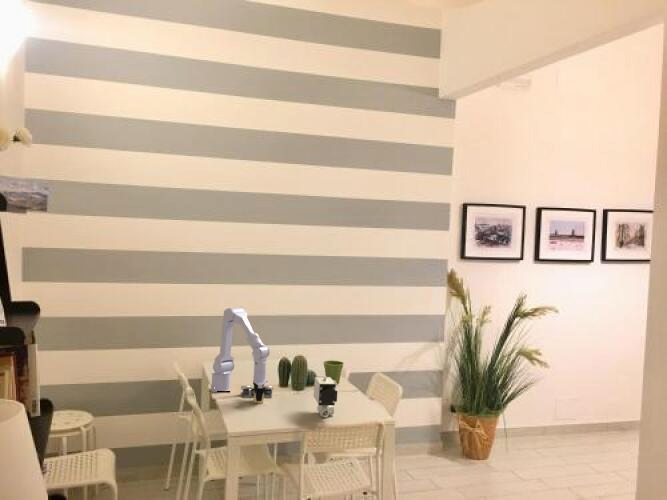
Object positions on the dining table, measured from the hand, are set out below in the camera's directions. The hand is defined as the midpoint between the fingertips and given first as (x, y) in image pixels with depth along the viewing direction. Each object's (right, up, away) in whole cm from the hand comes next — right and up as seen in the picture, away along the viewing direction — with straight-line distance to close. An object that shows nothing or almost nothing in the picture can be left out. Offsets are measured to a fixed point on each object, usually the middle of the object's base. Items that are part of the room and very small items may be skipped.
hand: (258, 399), depth 291 cm
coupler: (0, -2, 0) cm, 2 cm away
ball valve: (+32, -4, -14) cm, 35 cm away
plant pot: (+36, -2, +45) cm, 57 cm away
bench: (-2, -1, +12) cm, 12 cm away
